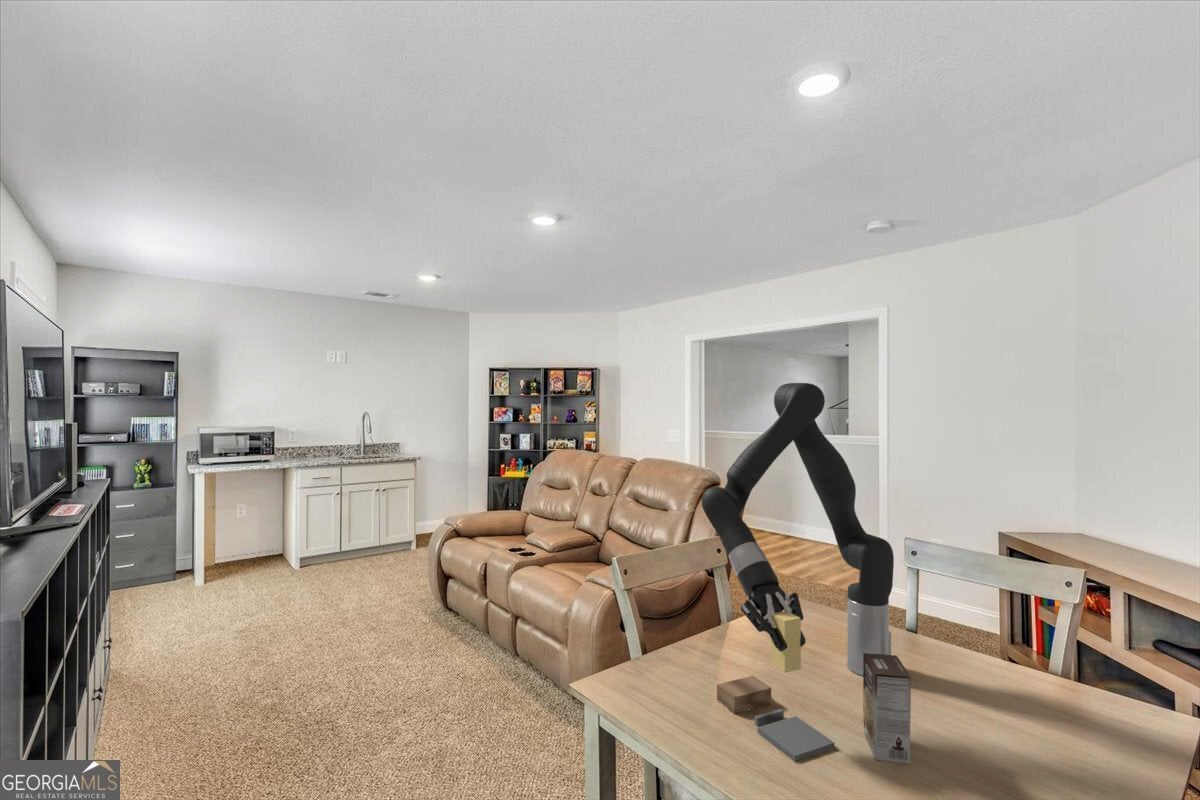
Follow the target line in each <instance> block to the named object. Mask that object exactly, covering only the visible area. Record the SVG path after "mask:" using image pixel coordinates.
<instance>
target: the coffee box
mask: <svg viewBox="0 0 1200 800" xmlns="http://www.w3.org/2000/svg"><path fill="white" fill-rule="evenodd" d="M862 677H863V678H862V679H863V683H862V685H863V686H862V687H863V688H862V689H863V691H862V692H863V693H862V694H863V695H862V697H863V699H862V701H863V702H862V703H863V705H862V706H863V707H862V709H863V711H862V717H863V718H862V722H863V723H862V728H863V735H864V736H865V739H866V741H867V744H868V746H869V748H870V752H871V753H872V756H873V758H874V760H876V761H884V762H892V763H900V764H908V765H909V764H911V708H912V707H911V706H912V705H911V701H912V700H911V699H912V697H911V696H912V695H911V693H912V692H911V691H912V687H911V685H912V683H911V682H912V679H911V677H912V676H911V675H910V673H909V672H908V670H907V669H906V667H905V666H904V665H903V663H902V661H901V660H900V659H899V657H898V656H897V655H892V654H891V655H883V654H868V653H863V676H862Z"/></svg>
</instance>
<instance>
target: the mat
mask: <svg viewBox="0 0 1200 800" xmlns="http://www.w3.org/2000/svg"><path fill="white" fill-rule="evenodd" d="M757 734H759V735H760V736H761V737H762V738H764V739H765V740H766V741H768V742H769V743H770V744H771V745H773V746H774V747H776V749H778V750H779V751H780V752H782V753H783V754H784V755H786V756H787V757H788V758H789V759H791V760H792V761H793V762H794V763H795V762H797V761H801V760H803V759H807V758H808V757H812V756H815V755H818V754H821V753H824V752H827V751H829V750H833V749H835V747H836V746H835V742H834V741H833V740H832V739H830V737H829V738H828V737H827V736H826V735H825V734H823V733H821V732H820V731H818V730H817V729H816V728H814V727H813V726H811V725H809V724H808V723H807V722H806V721H804V720H802V719H800V718H799V717H798V716H797V715H795V716H792V717H789V718H783V719H780V720H777V721H773V722H770V723H767V724H763V725H760V726H757Z"/></svg>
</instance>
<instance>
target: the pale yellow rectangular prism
mask: <svg viewBox="0 0 1200 800" xmlns="http://www.w3.org/2000/svg"><path fill="white" fill-rule="evenodd" d="M773 618H774V620H775V622H776V625H777V629H779V631H780V633H781V635H782V637H783V639H784V640H785V642H786V644H787V648H786V649H785V650H784V651H779V650H778V649H777V648H776V647H775V645H774V643H773V641H772V639H771V638H770V665H772V666H773V667H775V668H777V670H780V671H782V672H783V673H790V672H794V671H797V670H801V668H802V663H801V662H802V658H801V657H802V652H801V651H802V650H801V649H802V647H801V646H800V638H801V631H802V630H801V629H802V627H801V625H802V623H801V622H802V620H801V618H800V617H798V616H796V615H794V614H791V613H788V612H785V611H784V610H783V611H782V612H779V613H775V615H773Z"/></svg>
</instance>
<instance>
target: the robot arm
mask: <svg viewBox="0 0 1200 800" xmlns="http://www.w3.org/2000/svg"><path fill="white" fill-rule="evenodd" d="M825 399H826V398H825V395H824V392H823V391H822V389H821V388H820V387H819V386H817V384H814V383H808V382H789V383H785V384H782V385H781V386H779V387H778V388H777V389H776V391H775V392H774V397H773V405H774V408H775V411H776V413H777V416H778V418H777V419H776V420H775V421H774V423H773V424H772V425H771V426H769V428H768V429H767V430H766V431H764V432H763V433H762V434H760V436H758V437H756V439H754V440H753V441H752V442H751V443H750V444H749V445H747V446H746V447H745V449H744V450H742V452H741V453H740V454H739V456H738V457H737V458H736V459H735V461H734V462H733V463H732V465H731V466H729V469H728V470H727V472H726V478H727V479H726V484H725V486H724V488H723V487H722V486H721V487H720V486H712V487H709V488H707V489H706V490H705V491H704V492H703V494H702V496H701V507H702V509H703V512H704V514H705V516H706V518H707V519H708V520H709V521H708V522H710V524H711V525H712V528H714V530H715V532H716V533H717V535H718V537H719V539H720V541H721V544H722V547H723V548H724V551H725V552H726V555H727V557H728V558H729V562H730V564H731V566H732V569H733V571H734V573H735V575H736V577H737V580H738V582H739V583H740V587H741V588H742V590H743V592H744V593H745V596H746V597H747V596H748V600H745V602H744V603H743V604H741V606H740V608H739V609H740V610H741V612H742V614H743V615H745V617H746V618H747V619H748V620H749V622H750V623H751V624H752V625H753V626H754V628H755V629H756V630H757V632H759V633H762V632H765V633H767V634H768V635H769V637H770V640H771V639H772V641H773V643H774V645H775V647H776V648H777V649H778V650H779V651H784V650H785V649H786V648H787V644H786V642H785V640H784V639H783V637H782V635H781V633H780V631H779V629H777V625H776V622H775V620H774V618H773V615H775V613H779V612H784V611H785V612H788V613H791V614H794V615H796V616H798V617H800V618H801V621H803V620H804V614H803V610H802V606H801V602H800V599H799V595H798V594H797V592H792V593H787V592H785V591H784V589H782V587H780V583H779V579H778V576H777V574H776V573H775V571H774V569H773V567H772V565H771V563H770V561H769V560H768V558H767V556H766V554H765V552H764V551H763V549H762V548H761V546H760V545H759V543H758V542H757V539H756V538H755V536H754V535H753V532H752V531H751V529H750V527H749V526H748V525H747V523H745V521H744V520H743V519H742V517H741V514H742V512H743V510H744V508H745V506H746V504H747V501H748V500H749V498H750V496H751V493H752V491H753V489H754V488H755V487H756V485H757V484H758V483H759V482H760V480H761V479H762V477H763V476H764V475H765V473H766V472H767V471H768V469H769V468H770V467H771V466H772V465H773V463H774V462H775V461H776V460H777V458H778V457H779V456H780V455H781V454H782V453H783V452H784V451H785V449H787V447H788V446H789V445H791V443H792V442H794V445H795V448H796V449H797V452H798V455H799V456H800V458H801V461H802V463H803V465H804V467H805V470H806V472H807V474H808V477H809V480H810V482H811V484H812V487H813V488H814V490H815V493H816V494H817V496H818V498H819V500H820V503H821V506H822V507H823V510H824V512H825V514H826V516H827V518H828V520H829V523H830V525H831V528H832V531H833V534H834V538H835V540H836V543H837V547H838V549H839V552H840V555H841V557H842V559H843V560H844V562H845V563H846V564H847V565H849V566H850V567H852V568H853V569H855V570H857V571H859V580H858V582H854V583H851V584H849V585H848V586H847V595H846V596H847V597H846V598H847V605H846V606H847V630H846V631H847V633H846V634H847V637H846V638H847V639H846V640H847V641H846V643H847V647H846V650H847V651H846V654H847V655H846V658H847V661H846V663H847V664H846V666H847V668H848V670H850V671H851V672H853V673H855V674H857V675H859V676H861V677H863V653H868V654H883V655H892V633H891V631H890V630H889V628H890V627H889V626H890V625H889V622H890V621H889V620H890V619H889V614H890V613H889V608H890V606H889V603H890V601H889V598H890V595H891V594H892V593H891V592H892V590H893V584H894V583H893V581H894V567H895V563H894V562H895V561H894V560H895V559H894V558H895V557H894V551H893V548H892V545H891V544H890V543H889V542H888V541H887V540H886V539H884V538H882V537H878V536H876V535H872V534H871V533H870V534H869V533H867V532H866V531H865V529H864V528H863V526H862V524H861V522H860V521H859V518H858V516H857V514H856V513H857V512H856V509H855V503H856V496H857V495H856V494H857V489H856V483H855V480H854V477H853V475H852V473H851V471H850V469H849V466H848V464H847V462H846V461H845V459H844V458H843V456H842V455H841V453H840V452H839V451H838V450H837V449H836V448H835V447H834V445H833V444H832V443H831V442H830V440H829V439H828V438H827V437H826V436H825V434H823V432H822V431H821V429H820V428H819V426H818V424H817V422H816V419H817V418H818V417H820V415H821V413H822V412H823V410H824V408H825V407H824V406H825V402H826V400H825ZM805 644H806V637H805V635H804V633H803V631H802V630H801V638H800V646H801V648H803V646H805Z"/></svg>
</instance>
